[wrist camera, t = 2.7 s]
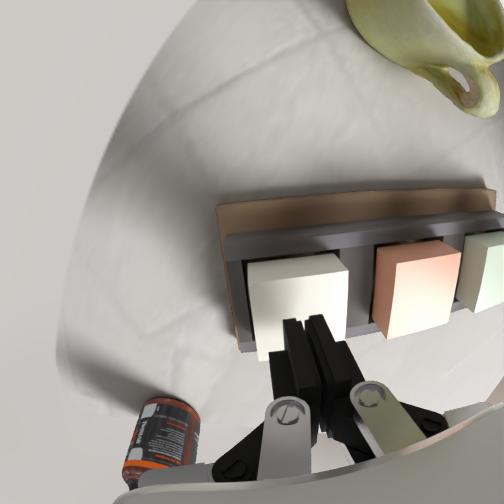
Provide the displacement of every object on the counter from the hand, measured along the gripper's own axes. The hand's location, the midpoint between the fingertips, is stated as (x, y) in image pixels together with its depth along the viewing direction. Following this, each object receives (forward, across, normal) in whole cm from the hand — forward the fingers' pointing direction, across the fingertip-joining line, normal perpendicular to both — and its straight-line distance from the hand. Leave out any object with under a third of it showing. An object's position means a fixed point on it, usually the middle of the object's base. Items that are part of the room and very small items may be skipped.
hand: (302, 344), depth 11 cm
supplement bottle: (+8, +11, +14) cm, 20 cm away
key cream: (+4, 0, 0) cm, 4 cm away
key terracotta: (+4, -8, 0) cm, 9 cm away
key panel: (+8, -8, 0) cm, 11 cm away
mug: (+8, -11, -16) cm, 21 cm away
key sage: (+4, -15, 0) cm, 15 cm away
